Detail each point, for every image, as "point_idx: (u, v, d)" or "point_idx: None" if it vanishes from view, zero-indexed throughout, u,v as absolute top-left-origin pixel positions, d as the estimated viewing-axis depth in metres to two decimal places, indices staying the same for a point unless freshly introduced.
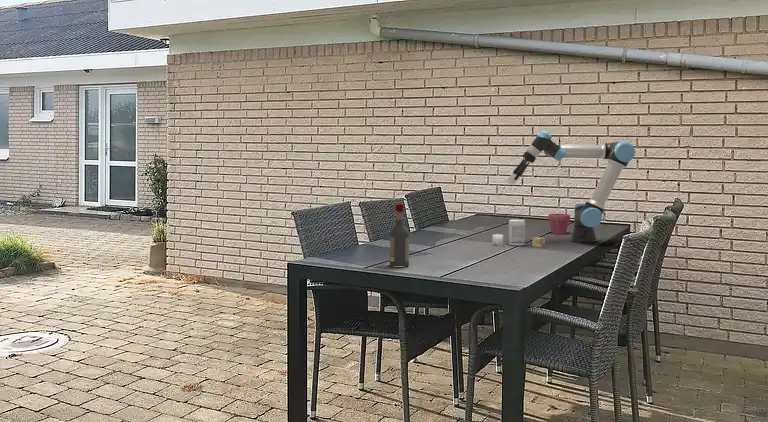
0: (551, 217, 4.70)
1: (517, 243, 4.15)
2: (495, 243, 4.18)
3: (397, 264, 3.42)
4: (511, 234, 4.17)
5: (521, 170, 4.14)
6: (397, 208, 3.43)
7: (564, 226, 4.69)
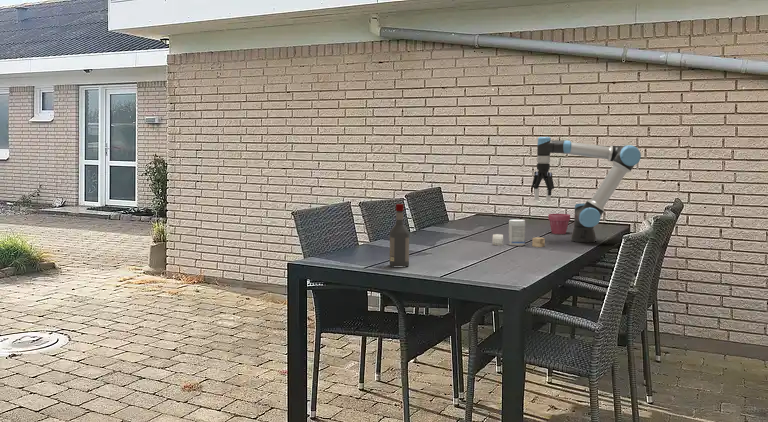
0: (551, 217, 4.70)
1: (517, 243, 4.15)
2: (495, 243, 4.18)
3: (397, 264, 3.42)
4: (511, 234, 4.17)
5: (551, 184, 4.17)
6: (397, 208, 3.43)
7: (564, 226, 4.69)
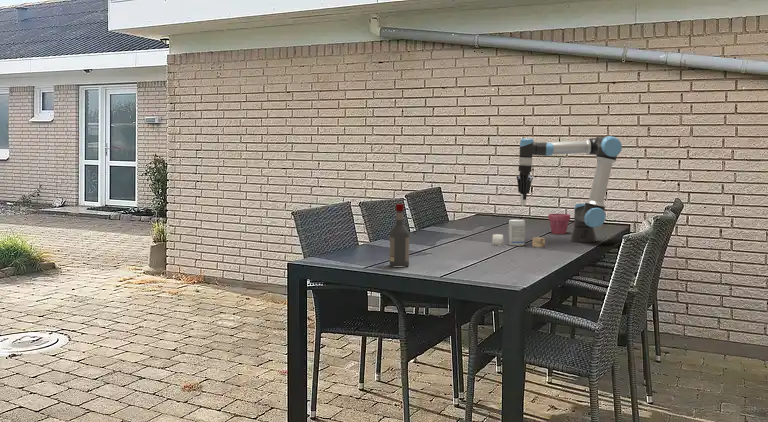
0: (551, 217, 4.70)
1: (517, 243, 4.15)
2: (495, 243, 4.18)
3: (397, 264, 3.42)
4: (511, 234, 4.17)
5: (527, 189, 4.16)
6: (397, 208, 3.43)
7: (564, 226, 4.69)
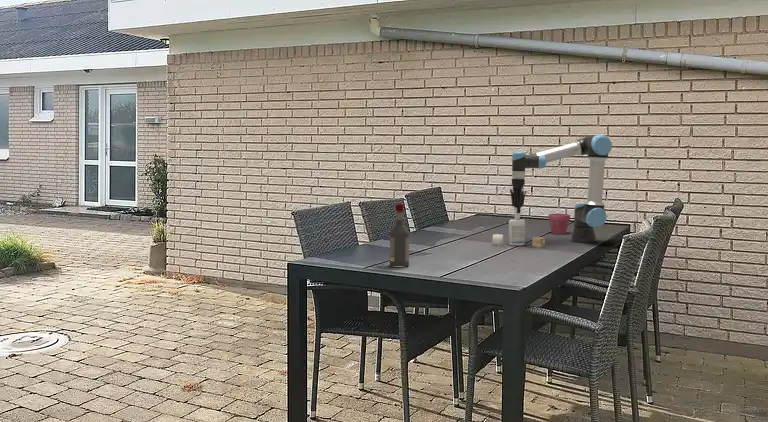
0: (551, 217, 4.70)
1: (517, 243, 4.15)
2: (495, 243, 4.18)
3: (397, 264, 3.42)
4: (511, 234, 4.17)
5: (521, 203, 4.14)
6: (397, 208, 3.43)
7: (564, 226, 4.69)
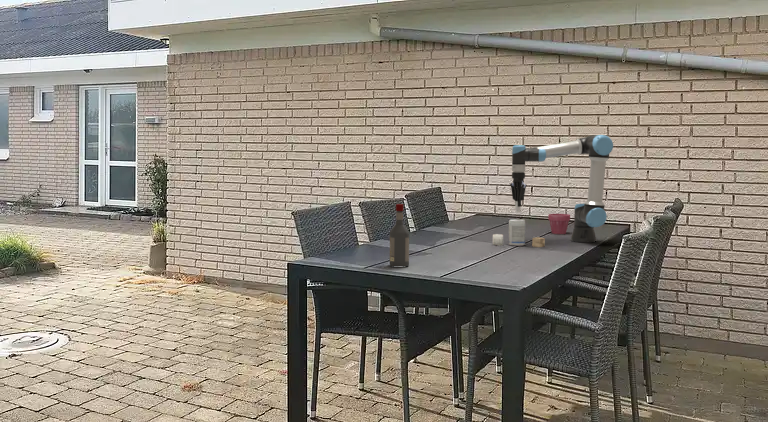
0: (551, 217, 4.70)
1: (517, 243, 4.15)
2: (495, 243, 4.18)
3: (397, 264, 3.42)
4: (511, 234, 4.17)
5: (521, 196, 4.14)
6: (397, 208, 3.43)
7: (564, 226, 4.69)
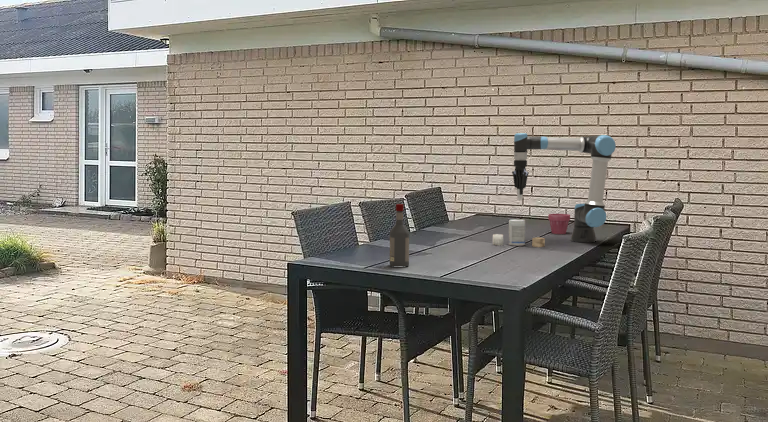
0: (551, 217, 4.70)
1: (517, 243, 4.15)
2: (495, 243, 4.18)
3: (397, 264, 3.42)
4: (511, 234, 4.17)
5: (523, 184, 4.14)
6: (397, 208, 3.43)
7: (564, 226, 4.69)
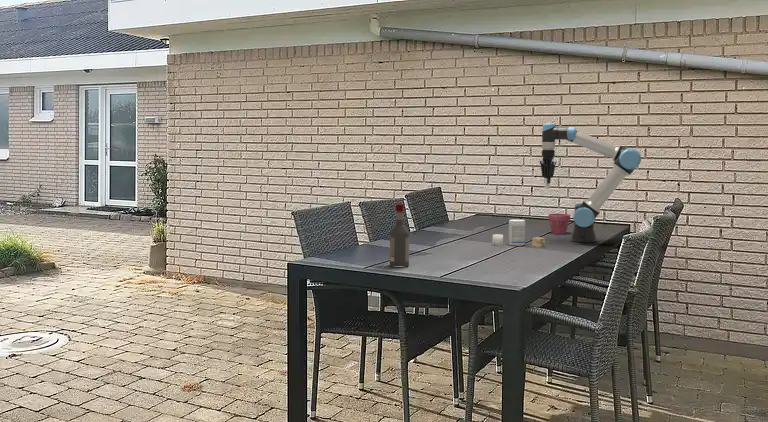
0: (551, 217, 4.70)
1: (517, 243, 4.15)
2: (495, 243, 4.18)
3: (397, 264, 3.42)
4: (511, 234, 4.17)
5: (551, 173, 4.24)
6: (397, 208, 3.43)
7: (564, 226, 4.69)
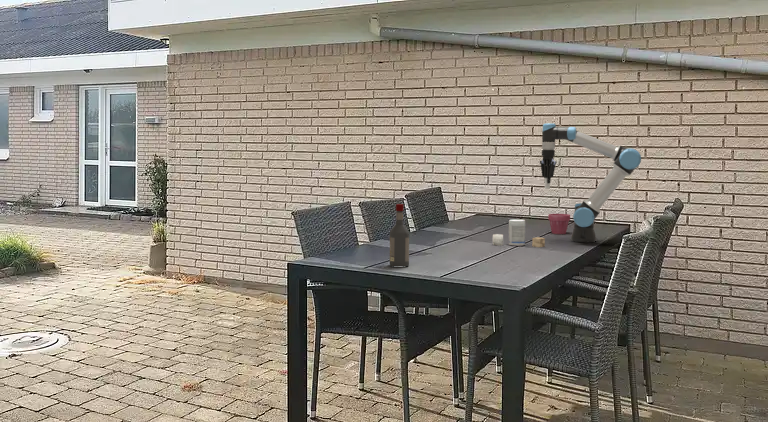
0: (551, 217, 4.70)
1: (517, 243, 4.15)
2: (495, 243, 4.18)
3: (397, 264, 3.42)
4: (511, 234, 4.17)
5: (551, 173, 4.24)
6: (397, 208, 3.43)
7: (564, 226, 4.69)
